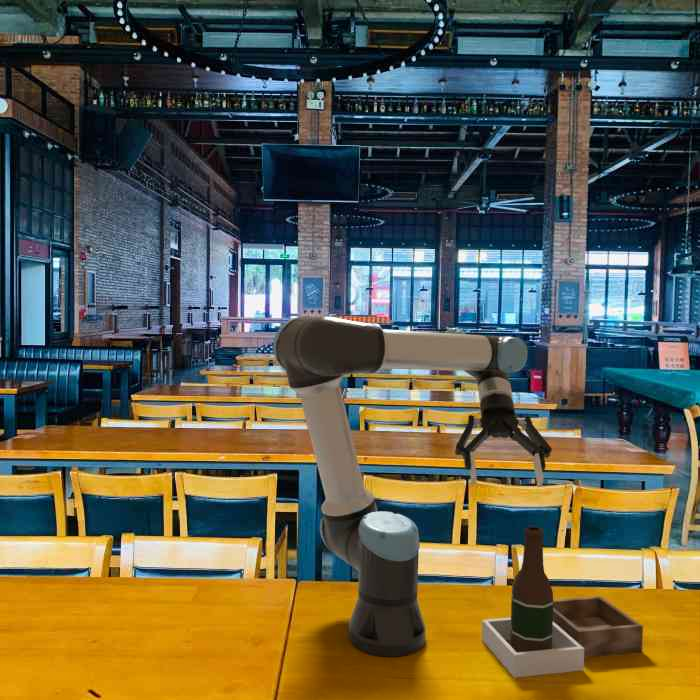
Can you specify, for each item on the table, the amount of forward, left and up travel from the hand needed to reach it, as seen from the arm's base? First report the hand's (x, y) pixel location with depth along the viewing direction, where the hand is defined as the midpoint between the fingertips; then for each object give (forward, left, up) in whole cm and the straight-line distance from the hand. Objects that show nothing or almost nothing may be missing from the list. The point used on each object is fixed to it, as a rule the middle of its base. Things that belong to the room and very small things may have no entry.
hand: (507, 483), depth 130 cm
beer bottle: (0, -12, -30) cm, 32 cm away
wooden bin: (+15, -8, -30) cm, 34 cm away
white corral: (0, -12, -30) cm, 32 cm away
